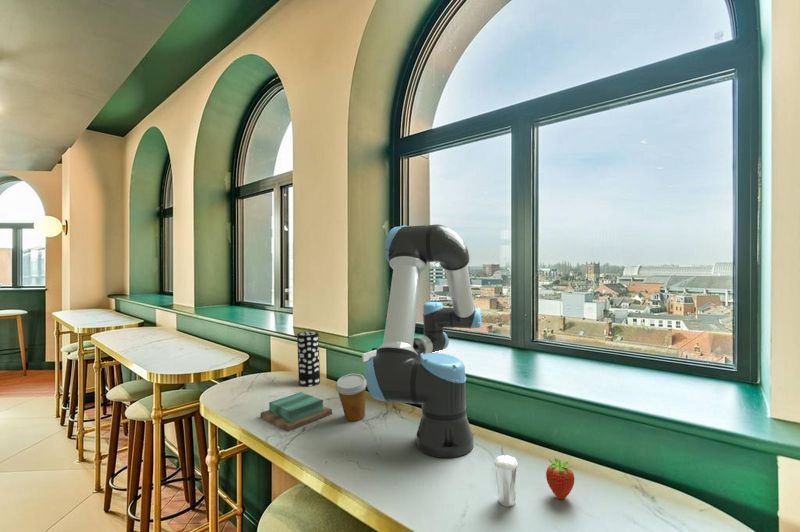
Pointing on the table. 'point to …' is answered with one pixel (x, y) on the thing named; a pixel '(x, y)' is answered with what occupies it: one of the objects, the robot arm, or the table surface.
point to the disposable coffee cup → (352, 395)
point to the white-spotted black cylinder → (308, 358)
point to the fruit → (560, 478)
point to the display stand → (295, 411)
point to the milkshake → (506, 478)
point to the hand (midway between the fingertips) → (376, 361)
